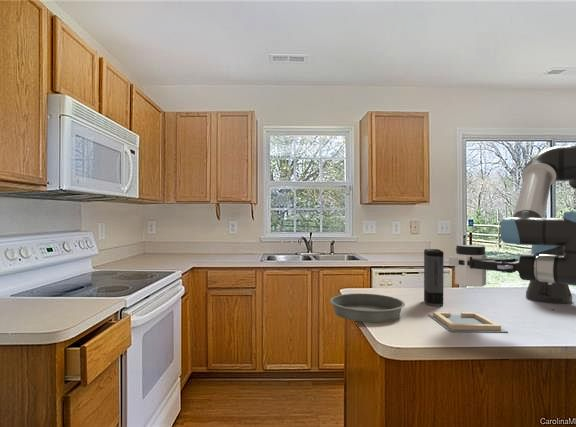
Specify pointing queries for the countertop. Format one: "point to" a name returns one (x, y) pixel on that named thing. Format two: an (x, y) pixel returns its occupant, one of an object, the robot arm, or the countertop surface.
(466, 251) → the jar
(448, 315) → the beige flat piece
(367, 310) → the cake pan
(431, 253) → the electronic device
